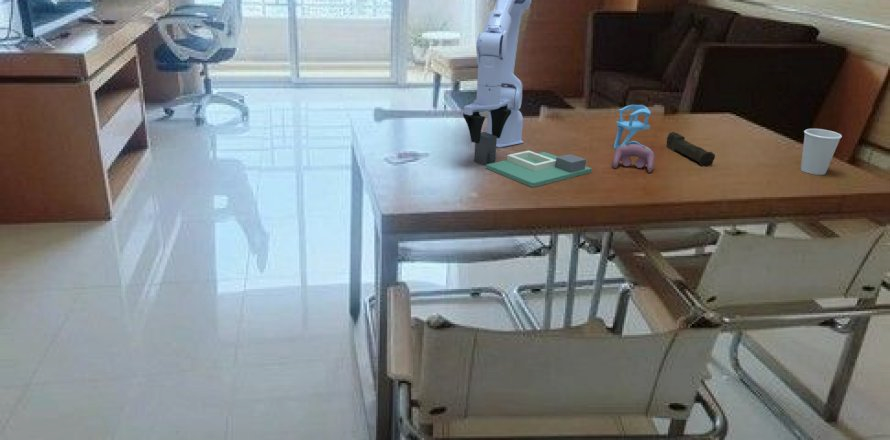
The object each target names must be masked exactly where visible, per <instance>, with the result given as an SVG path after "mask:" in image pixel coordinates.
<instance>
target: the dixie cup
mask: <svg viewBox="0 0 890 440" xmlns="http://www.w3.org/2000/svg"><path fill="white" fill-rule="evenodd" d="M803 133H804V138H803V147H802V156H801V162H800V163H801V164H800V171H802V172H804V173H807V174H810V175H814V176H815V175H817V176H823V175H826V173H827V171H828V169H829V166H830V165H831V161H832V158H833V156H834V154H835V151H836V150H837V147H838V145H839V143H840V140H841V138H842V137H843V136H842V134H841V133H838V132H836V131H832V130H830V129H829V130H827V129H823V128H807V129H805V130H803Z"/></svg>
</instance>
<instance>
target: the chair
mask: <svg viewBox="0 0 890 440" xmlns="http://www.w3.org/2000/svg"><path fill="white" fill-rule="evenodd" d="M628 110H632V111H633V112H632V113H629V120H624V116H623V113H624V112H625V111H628ZM618 111H619V120H616V121H615V125H616V126H617V132H616V136H615V140H614V145H613V149H615V150H616V149H617V148H618V147H620V146H621V145H628V144H636V145H642V146H645V147H647V146H646V145H643V144H641V143H640V142H638V141H636V140H633V141H632V140H631V138H633V137H634V135H635V134H637V132H640V131H643V130H650V129H651V125H649V124H648V120H649V119H650V118H649V117H650V116H651V114H652V112H651V110H650V109H649V108H648V107H647V106H645V105H644V104H630V105H629V104H628V105H626V106H624V107H622V108H620V109H618ZM639 115H644V116H646V117H645V118H644V119H643V120H644V121H643V122H642V121H640V120H639V119H638V117H639ZM633 118H634V119H633ZM624 130H626V131H628V134H626V137H625V138H624V140H623V142H622V143H620V142H621V139H622V135H623V132H624ZM630 140H631V141H630Z"/></svg>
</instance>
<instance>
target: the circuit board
mask: <svg viewBox="0 0 890 440" xmlns="http://www.w3.org/2000/svg"><path fill="white" fill-rule="evenodd" d="M586 163H587V159H586V158H584V157H580V156H577V155H575V154H572V153H569V154H566V155H565V154H564V155H560V156H558V155H554V154H551V153H549V152H546V151H542V152H538V153H536V152H534V151H532V150H525V151H519V152H516V153H511V154H507V157H506V160H501V161H497V162H496V161H495V163H491V164H486V165H485V166H486V168H485V169H487V170H488V171H491V172H494V173H496V174H499V175H501V176H504V177H506V178H509V179H511V180H513V181H517V182H518V183H520V184H523V185H526V186H529V187H531V188H536V187H539V186H544V185H547V184H553V183H555V182H558V181H563V180H567V179H571V178H575V177H579V176H583V175H586V174H590V173H592V170H593V169H592V167H589V166H586Z"/></svg>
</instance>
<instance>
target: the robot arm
mask: <svg viewBox="0 0 890 440" xmlns="http://www.w3.org/2000/svg"><path fill="white" fill-rule="evenodd" d="M493 1H494V3H495V7H494V9H493V10H491V11H490V12H489V14H488V16H487V19H486V22H485V25H484V28H483V32H482V33H481V34H480V33H479V34H478V36H477V38H476V47H475V48H476V49H475V50H476V65H477V82H476V83H477V85H476V99H474V100H473V102H472V103H470V104H467V105H464V107H463V108H464V109H463V113H462V117H463V118H464V120H465V123H466V125H467V128H468V131H469V136H470V141H471V143H474V144H475V143H479V142H480V137H481V133H482V128H483V125H484V121H485V120H486V116H483V115H481V113H484V112H487V124H486V126H487V127H486V133H489V134H492V135H495V136H497V142H496V148H500V149H501V148H505V147H508V146H513V145H514V146H515V145H517V144H523V143H524V140H522V137H523V127H524V126H523V125H524V118H523V114H522V112H521V111H520V109H521V106H522V101H523V86H524V85H523V83H522V81H521V79H519V78H518V77H517V76H516V75H515V74H514V73H515V65H516V56H517V51H518V42H519V34H520V26H521V19H522V15H523V14H524V11H526V10H528V9H529V8H530V7H531V4H532V0H493Z"/></svg>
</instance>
